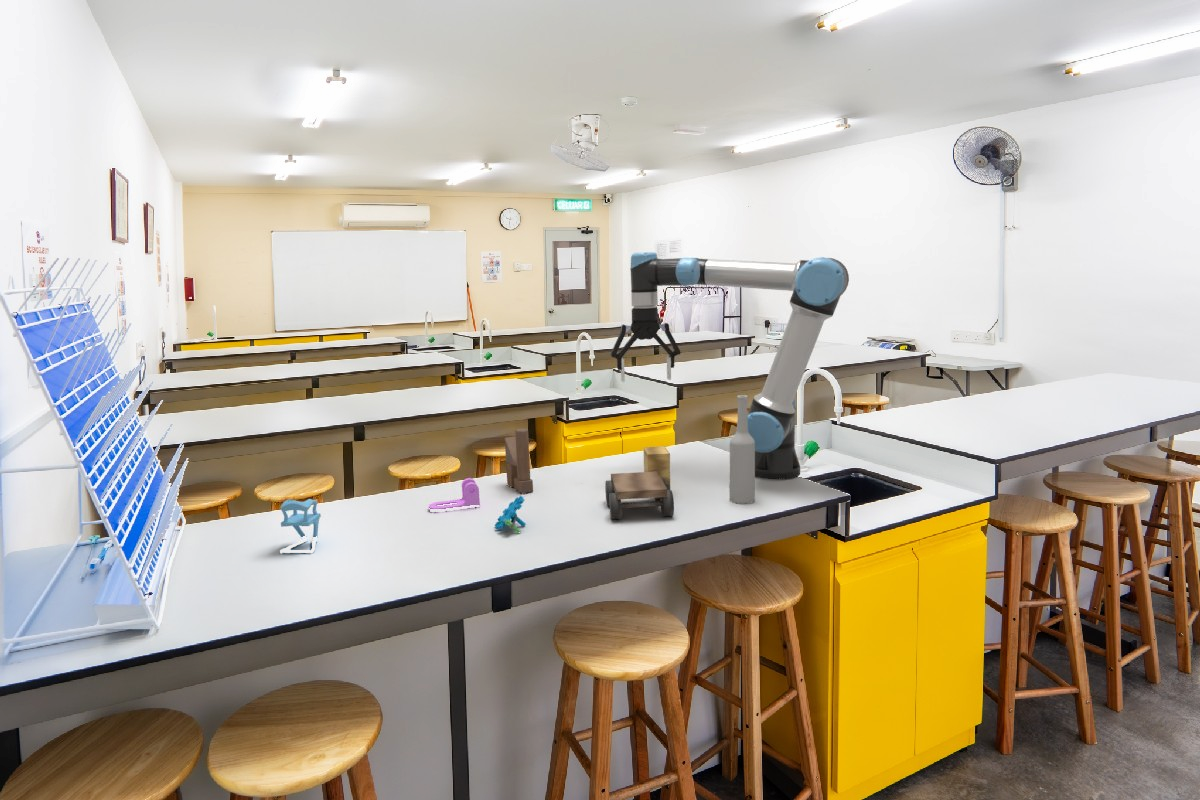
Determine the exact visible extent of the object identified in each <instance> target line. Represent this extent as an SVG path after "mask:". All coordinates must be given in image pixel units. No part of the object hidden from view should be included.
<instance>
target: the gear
mask: <svg viewBox="0 0 1200 800" xmlns="http://www.w3.org/2000/svg"><path fill="white" fill-rule="evenodd" d="M524 502H525V499H524V497H523V496H522V495H520V496H519V497H517V496H516V497H515V498H514V500H513V501H511V502H510V503H508V507H507V508H505V509H504V510H503V511H502V513H503V514H502V515H500V516H499V517H498V518H497V519H496V520H497V521H496V522H495V524H494V528H495V530H497V529H499V530H503V529H504V527H505V525H507V527H508V528H509V529H511V530H513V531H515V532H517V533H518V532H520V533H521V532H522V531H521V530H520V529H519V528H518V527H517V526H516V522H517V523H518V524H519V525H521V526H522V527H523V526H524V527H525V526H526V525H527V524H526V522H525V521H523V520H522V519H521V518H520V517H518V513H517V510H520V509H521V508H522V507H523V503H524ZM495 526H496V527H495Z"/></svg>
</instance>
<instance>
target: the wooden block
mask: <svg viewBox="0 0 1200 800" xmlns="http://www.w3.org/2000/svg"><path fill="white" fill-rule="evenodd" d="M514 432H515V433H514V434H515V436H510V437H505V438H504V449H505V450H504V451H505V461H506V463H505V467H506V482H507V483H506V485H507V484H508V485H509V487H510V486H511V487H510V488H512V487H514V490H515V489H516V491H517V492H518V491H519V493H520V492H521V493H520V494H522V493H524V494H528V493H527V492H529V493H532V492H534V484H533V479H531V464H530V463H531V462H530V459H531V458H530V442H529V440H530V439H529V429H528V428H524V427H523V428H517V429H515V431H514ZM508 485H507V486H508Z"/></svg>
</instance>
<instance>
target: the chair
mask: <svg viewBox="0 0 1200 800" xmlns="http://www.w3.org/2000/svg"><path fill="white" fill-rule="evenodd" d="M312 505H313V507H312ZM317 505H318V500H317V499H312V498H307V499H306V500H305V501H299V500H296V499H289V498H288V499H286V500H285V501H283V502H282V503H281V505H280V511H281V512H282V514H283V517H284V518H283V521H281V522H280V527H281V528H283V527H293V528H294V529H295V531H296V532H297V534H298V535H299V536H300V538H301V537H303V536H305V535H306V534H305V532H304V531H303V529H302V528H301V527H310V526H311V525H313V533H312V538H313V537H316V536H317V537H318V534H319V523H320V519H321V517H322V515H321V513H320V512H317ZM311 507H312V513H308V511H309V509H310V508H311ZM289 511H292V512H293V513H292V514H291V515H290V516H289V515H288V513H287V512H289ZM298 511H302V512H303V513H298Z"/></svg>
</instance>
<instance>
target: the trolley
mask: <svg viewBox="0 0 1200 800" xmlns="http://www.w3.org/2000/svg"><path fill="white" fill-rule="evenodd" d="M604 484H605V487H604V489H605V501H606V505H607V506H609V514H610V515H609V516H610V520H619V519H621V518H622V513H623V512H622V509H626V508H628V509H630V508H631V509H632V508H645V507H646V508H647V507H660V512H661V516H662V517H672V516H674V513H675V501H674V494H673V491H672V490H671V489H670V490H667V488H666V483H665V479H664V478H660V476H659V474H658V472H657V471H655V472H644V471H640V472H639V471H638V472H621V473H610V480H605V483H604ZM634 499H635V500H637V499H638V500H639V499H654V501H636V502H635V501H633V502H622V500H634Z"/></svg>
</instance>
